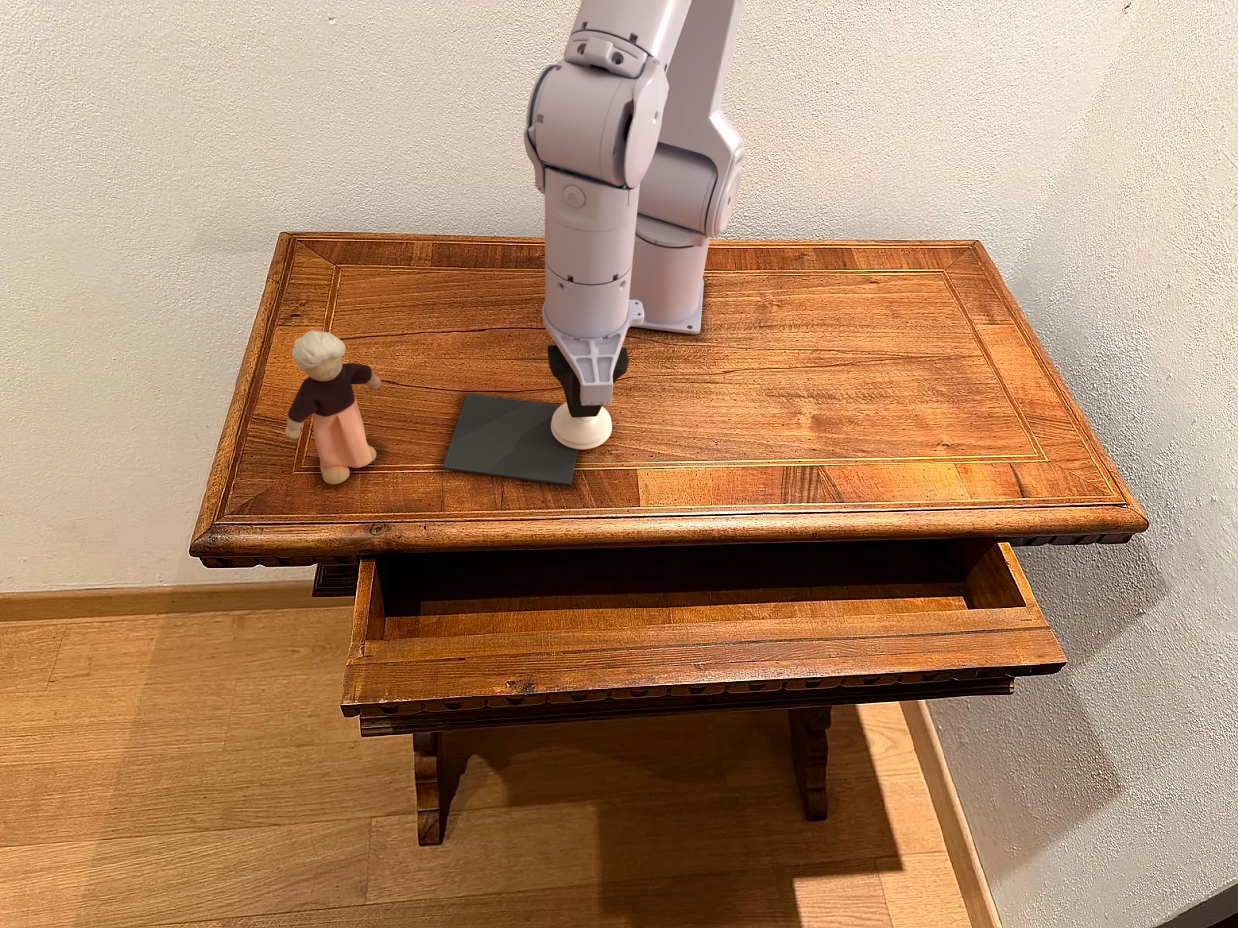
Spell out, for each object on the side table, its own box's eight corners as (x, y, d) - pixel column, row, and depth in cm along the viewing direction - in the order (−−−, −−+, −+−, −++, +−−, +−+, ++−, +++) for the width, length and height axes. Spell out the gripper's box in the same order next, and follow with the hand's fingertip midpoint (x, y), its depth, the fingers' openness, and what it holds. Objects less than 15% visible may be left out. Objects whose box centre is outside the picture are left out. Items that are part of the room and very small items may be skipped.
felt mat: (442, 469, 61) (442, 467, 61) (467, 395, 66) (466, 393, 66) (570, 486, 61) (570, 484, 61) (585, 411, 66) (585, 408, 66)
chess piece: (581, 459, 62) (586, 365, 55) (538, 426, 64) (536, 331, 57) (624, 427, 65) (634, 333, 57) (580, 396, 67) (584, 301, 59)
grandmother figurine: (335, 503, 59) (291, 381, 49) (297, 479, 60) (247, 356, 50) (405, 438, 63) (378, 315, 53) (369, 418, 64) (336, 293, 54)
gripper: (667, 330, 48) (646, 471, 58) (634, 194, 57) (621, 337, 67) (549, 334, 47) (550, 476, 57) (535, 195, 56) (537, 340, 66)
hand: (582, 401), depth 62 cm, fingers closed on chess piece
